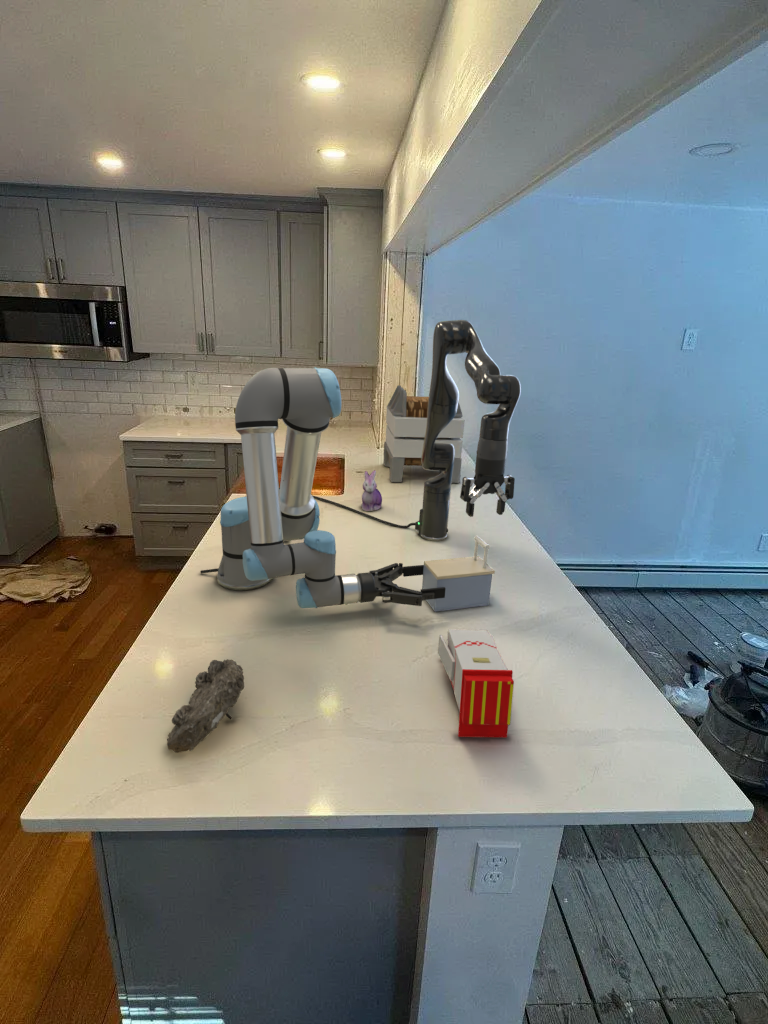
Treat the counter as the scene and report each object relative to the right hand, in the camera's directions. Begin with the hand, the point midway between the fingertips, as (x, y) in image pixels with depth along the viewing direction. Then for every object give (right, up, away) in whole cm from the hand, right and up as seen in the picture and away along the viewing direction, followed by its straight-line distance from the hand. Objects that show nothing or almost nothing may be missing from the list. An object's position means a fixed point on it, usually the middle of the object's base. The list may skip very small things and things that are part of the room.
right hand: (484, 514), depth 150 cm
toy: (-9, -37, -31) cm, 49 cm away
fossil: (-59, -38, -42) cm, 82 cm away
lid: (-7, -15, +3) cm, 16 cm away
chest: (-7, -23, +6) cm, 25 cm away
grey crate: (-9, +20, +125) cm, 127 cm away
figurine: (-32, +2, +75) cm, 81 cm away
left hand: (-13, -18, +1) cm, 22 cm away
